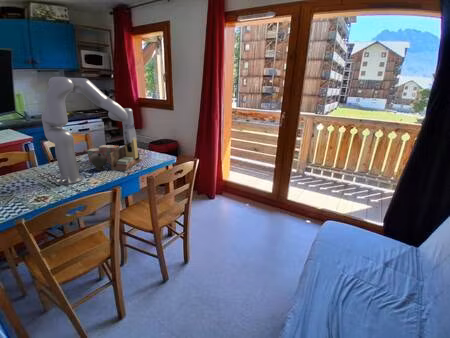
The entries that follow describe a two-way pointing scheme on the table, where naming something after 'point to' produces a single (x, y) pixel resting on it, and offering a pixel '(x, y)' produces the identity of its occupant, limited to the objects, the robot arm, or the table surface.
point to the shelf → (118, 156)
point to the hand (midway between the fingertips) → (131, 150)
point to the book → (134, 150)
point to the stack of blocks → (103, 151)
